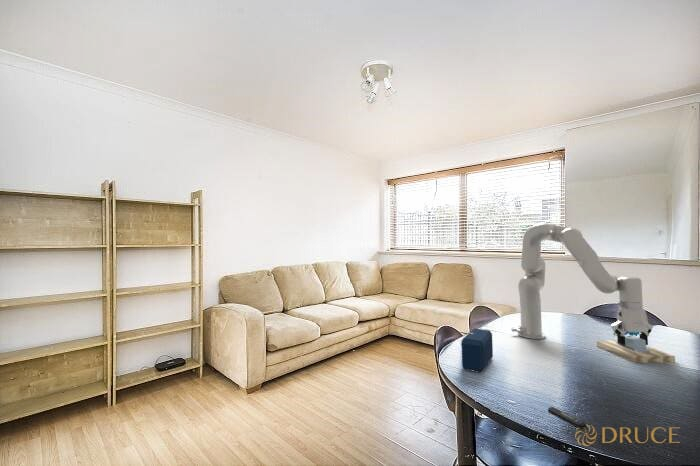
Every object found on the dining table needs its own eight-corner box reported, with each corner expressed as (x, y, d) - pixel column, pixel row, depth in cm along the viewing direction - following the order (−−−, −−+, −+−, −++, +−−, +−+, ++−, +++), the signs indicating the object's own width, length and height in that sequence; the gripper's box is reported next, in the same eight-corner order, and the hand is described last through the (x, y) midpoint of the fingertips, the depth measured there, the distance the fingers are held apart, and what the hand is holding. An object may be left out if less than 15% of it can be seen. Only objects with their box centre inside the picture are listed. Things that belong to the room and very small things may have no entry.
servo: (638, 358, 130) (637, 340, 130) (616, 349, 141) (616, 333, 141) (650, 358, 130) (649, 340, 130) (628, 349, 141) (627, 333, 141)
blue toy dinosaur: (644, 335, 156) (632, 322, 154) (641, 344, 154) (629, 331, 152) (619, 332, 166) (608, 320, 165) (616, 341, 164) (604, 329, 163)
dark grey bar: (546, 412, 91) (546, 407, 91) (552, 410, 92) (552, 405, 92) (581, 430, 83) (581, 424, 83) (587, 427, 84) (587, 422, 84)
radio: (472, 354, 138) (471, 309, 139) (493, 358, 133) (492, 311, 134) (459, 370, 121) (458, 319, 122) (483, 375, 116) (481, 322, 117)
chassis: (635, 362, 126) (634, 356, 126) (596, 346, 146) (596, 340, 146) (675, 362, 125) (674, 355, 125) (631, 345, 145) (631, 340, 145)
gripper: (618, 307, 132) (620, 347, 132) (659, 306, 132) (661, 347, 132) (604, 303, 140) (605, 341, 139) (643, 303, 140) (644, 341, 139)
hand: (632, 344), depth 136 cm, fingers open, 9 cm apart
